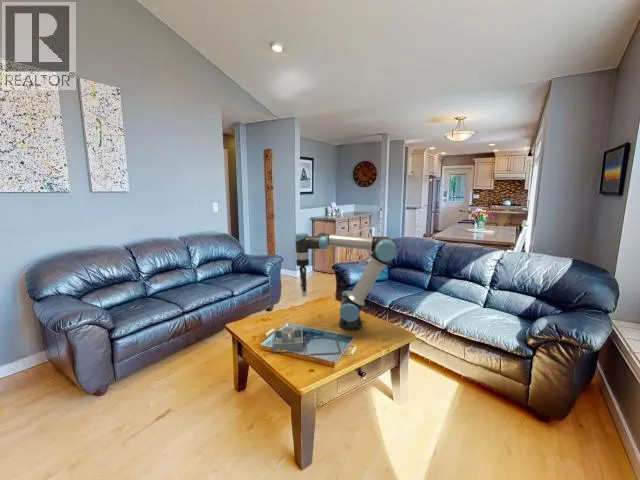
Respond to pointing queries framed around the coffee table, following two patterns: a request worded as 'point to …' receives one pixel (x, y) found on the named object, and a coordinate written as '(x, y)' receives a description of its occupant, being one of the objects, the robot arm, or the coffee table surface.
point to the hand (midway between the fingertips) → (303, 292)
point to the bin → (294, 346)
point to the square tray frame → (321, 353)
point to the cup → (288, 334)
